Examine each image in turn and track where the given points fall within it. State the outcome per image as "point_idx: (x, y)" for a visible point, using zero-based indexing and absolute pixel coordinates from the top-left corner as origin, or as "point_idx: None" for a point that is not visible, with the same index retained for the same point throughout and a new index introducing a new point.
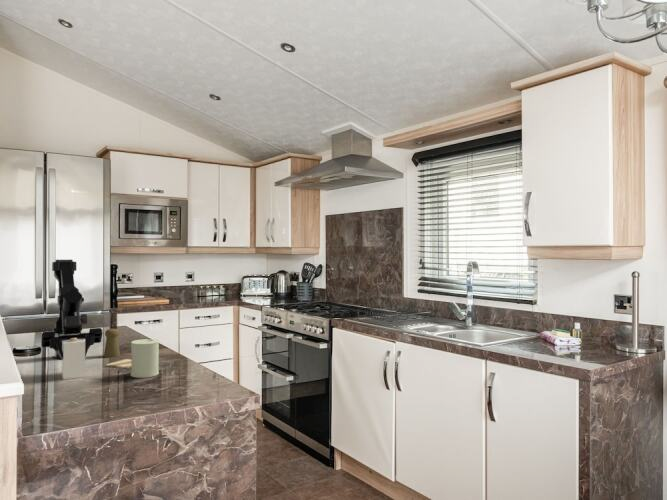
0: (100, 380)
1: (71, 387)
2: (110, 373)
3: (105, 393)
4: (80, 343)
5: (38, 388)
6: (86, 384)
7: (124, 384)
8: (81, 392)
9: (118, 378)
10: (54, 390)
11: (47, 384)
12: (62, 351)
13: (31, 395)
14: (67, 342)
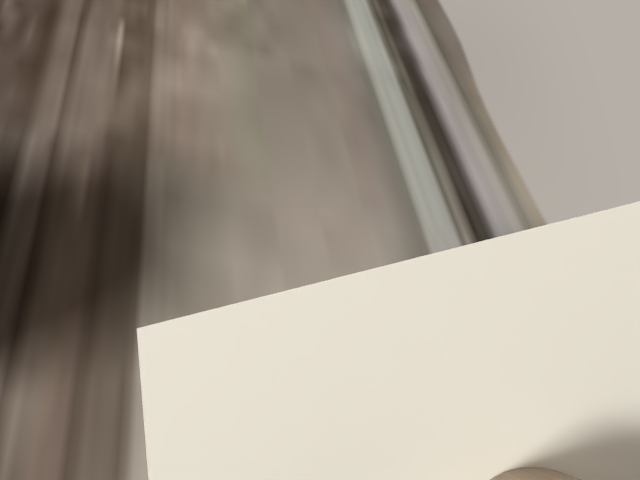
0: (154, 233)
1: (307, 127)
2: (63, 446)
3: (142, 5)
4: (274, 298)
5: (471, 151)
6: (235, 164)
7: (29, 113)
8: (246, 41)
9: (33, 256)
10: (377, 99)
11: (456, 219)
12: None
13: (452, 54)
14: (627, 328)
